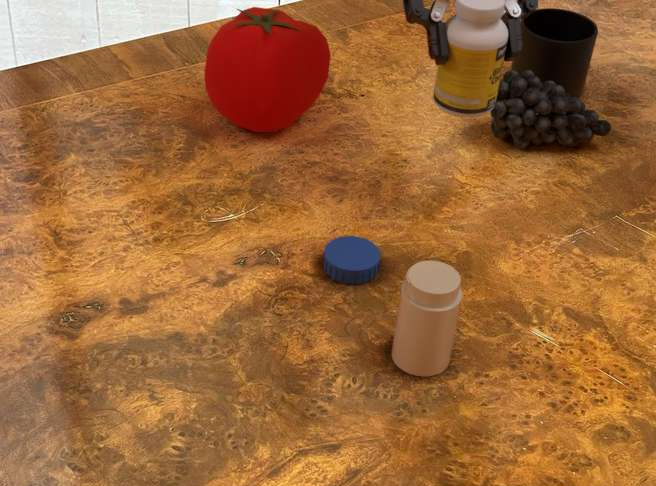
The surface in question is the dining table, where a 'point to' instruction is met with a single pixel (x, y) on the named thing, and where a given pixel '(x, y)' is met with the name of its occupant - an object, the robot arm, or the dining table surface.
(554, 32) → the black cylindrical cup
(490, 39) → the pill bottle
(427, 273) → the plain beige capped bottle
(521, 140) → the fruit
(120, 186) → the dining table surface
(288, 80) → the tomato
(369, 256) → the jar lid
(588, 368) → the dining table surface
